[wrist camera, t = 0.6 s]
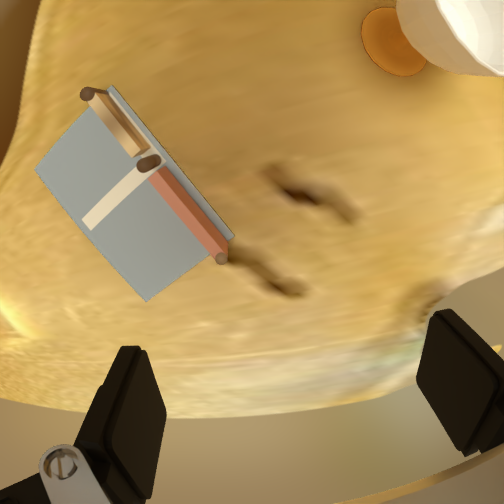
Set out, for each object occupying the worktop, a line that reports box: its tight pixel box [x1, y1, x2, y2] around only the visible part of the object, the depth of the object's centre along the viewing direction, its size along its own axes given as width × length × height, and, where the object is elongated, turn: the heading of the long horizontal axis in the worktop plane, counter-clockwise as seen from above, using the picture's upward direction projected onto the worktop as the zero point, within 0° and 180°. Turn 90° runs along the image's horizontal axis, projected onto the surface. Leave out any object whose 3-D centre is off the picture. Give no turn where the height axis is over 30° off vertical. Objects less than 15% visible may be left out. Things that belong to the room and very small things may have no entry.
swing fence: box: [148, 166, 228, 265], centre depth 33 cm, size 11×1×4 cm, turn 37°
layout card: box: [34, 85, 235, 302], centre depth 34 cm, size 22×14×1 cm, turn 37°
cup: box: [361, 0, 504, 77], centre depth 21 cm, size 12×12×17 cm
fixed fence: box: [80, 87, 161, 173], centre depth 29 cm, size 11×1×5 cm, turn 37°
